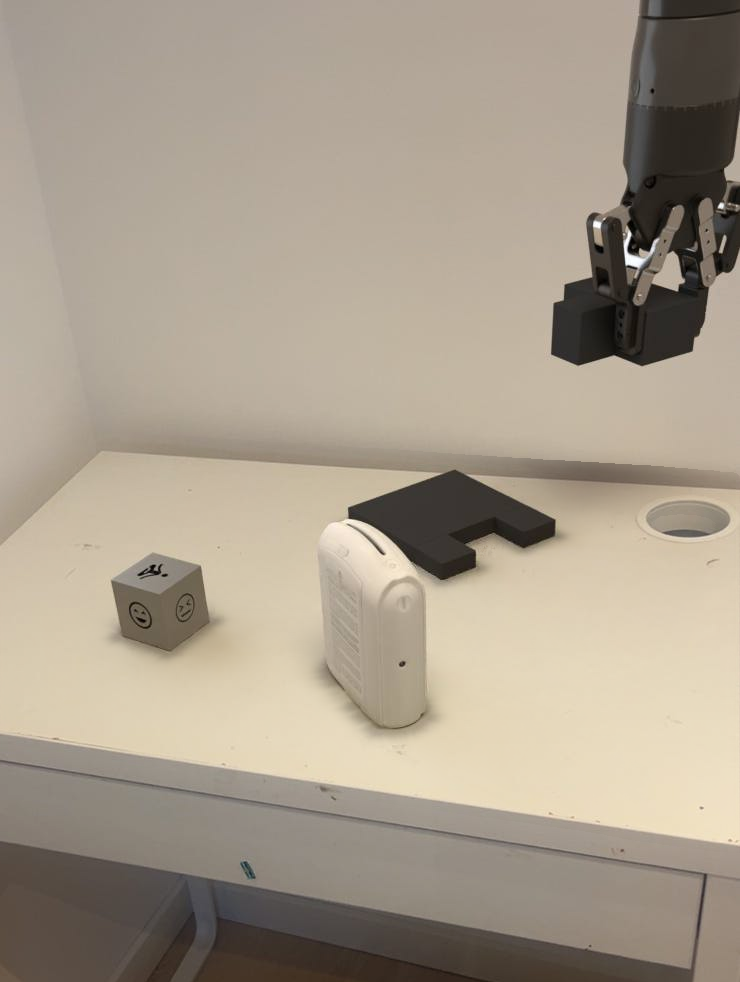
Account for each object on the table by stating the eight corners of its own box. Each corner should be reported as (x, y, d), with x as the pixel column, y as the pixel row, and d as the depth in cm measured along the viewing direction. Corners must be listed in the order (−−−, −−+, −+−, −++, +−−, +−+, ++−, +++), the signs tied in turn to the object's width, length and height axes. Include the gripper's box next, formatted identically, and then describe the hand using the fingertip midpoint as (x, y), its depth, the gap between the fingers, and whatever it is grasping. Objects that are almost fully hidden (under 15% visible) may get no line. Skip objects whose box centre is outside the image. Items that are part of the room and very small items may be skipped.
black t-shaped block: (526, 344, 95) (528, 293, 92) (610, 321, 98) (614, 271, 95) (604, 377, 88) (609, 323, 85) (693, 351, 90) (699, 298, 88)
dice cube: (162, 607, 96) (152, 552, 93) (209, 621, 93) (200, 565, 90) (122, 635, 93) (110, 580, 90) (169, 651, 90) (159, 594, 87)
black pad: (454, 484, 109) (454, 469, 108) (555, 535, 99) (556, 519, 99) (348, 522, 105) (347, 507, 104) (442, 580, 95) (442, 563, 94)
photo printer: (436, 718, 80) (434, 556, 73) (380, 737, 79) (372, 575, 71) (370, 650, 88) (362, 497, 80) (319, 666, 87) (305, 512, 79)
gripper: (637, 114, 74) (614, 379, 85) (806, 78, 79) (765, 334, 89) (565, 102, 80) (552, 353, 91) (727, 69, 84) (696, 312, 95)
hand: (658, 342), depth 90 cm, fingers closed on black t-shaped block, 5 cm apart
